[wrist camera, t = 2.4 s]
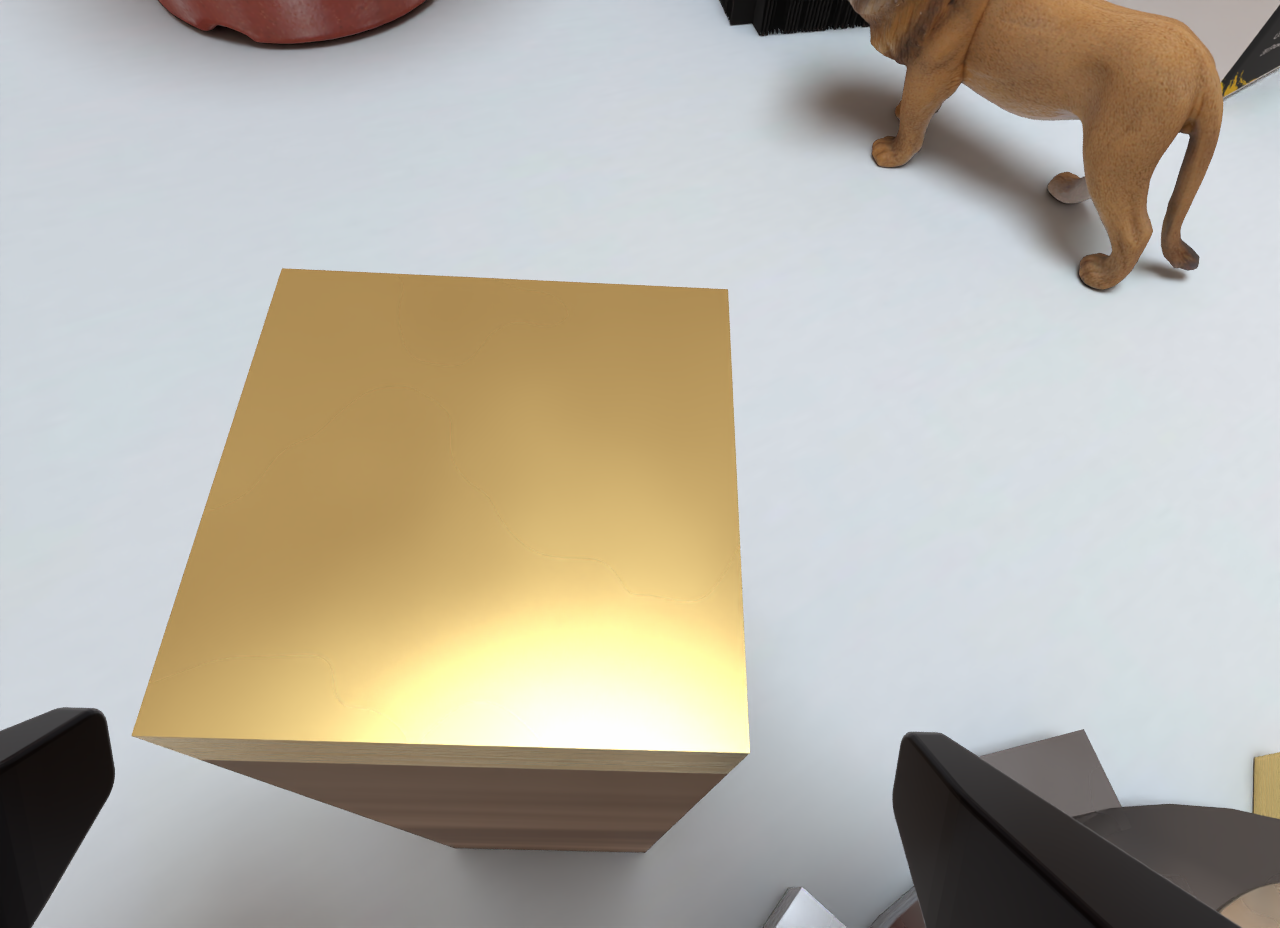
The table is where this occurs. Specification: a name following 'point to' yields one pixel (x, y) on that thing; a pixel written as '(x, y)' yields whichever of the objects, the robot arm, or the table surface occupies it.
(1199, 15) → the medicine bottle
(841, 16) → the cpu cooler
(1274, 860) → the sprocket plate
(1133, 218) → the lion figurine
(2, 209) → the table surface
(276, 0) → the flower pot
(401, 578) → the gold-topped wooden block
